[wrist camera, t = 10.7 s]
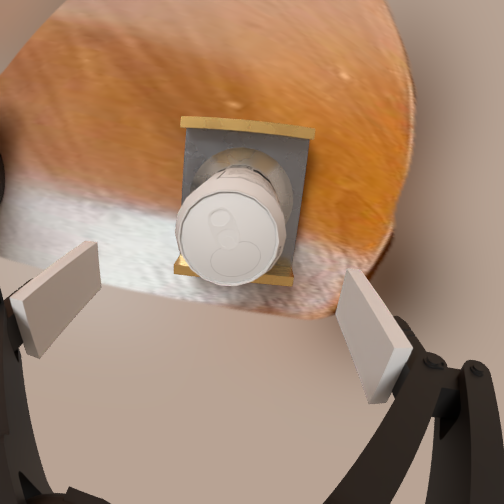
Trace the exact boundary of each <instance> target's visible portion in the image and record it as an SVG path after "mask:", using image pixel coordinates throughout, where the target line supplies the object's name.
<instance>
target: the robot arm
mask: <svg viewBox="0 0 504 504" xmlns="http://www.w3.org/2000/svg"><path fill="white" fill-rule="evenodd" d="M3 191H4V168H3V163H2V159H1V156H0V203H1V200H2V196H3ZM100 289H101V279H100V269H99V259H98V246H97V242H92V241H85V242H83V243H82V244H80V245H79V246H77V247H76V248H74V249H73V250H72V251H70V252H69V253H67V254H66V255H65V256H63V257H62V258H60V259H59V260H58V261H56V262H55V263H53V264H52V265H51V266H49V267H48V268H47V269H45V270H44V271H43V272H41V273H40V274H39V275H37V276H36V277H35V278H33V279H31V280H29V281H28V282H26V283H25V284H24V285H23V286H21V287H20V288H19V289H18V290H16V291H15V292H14V293H12V294H11V295H10V296H9V297H7V298H6V299H5V300H3V297H2V293H1V289H0V504H110V503H109V502H107V501H105V500H104V499H101V498H98V497H95V496H93V495H90V494H87V493H84V492H82V491H79V490H77V489H74V488H72V487H69V488H68V490H67V492H66V494H63V493H53V491H52V490H51V488H50V486H49V484H48V482H47V480H46V477H45V473H44V471H43V467H42V464H41V460H40V457H39V453H38V450H37V446H36V442H35V438H34V434H33V429H32V425H31V421H30V415H29V410H28V404H27V398H26V392H25V385H24V378H23V370H22V360H21V354H20V351H19V347H20V346H21V344H22V343H23V344H24V347H25V350H26V353H27V354H28V355H31V356H34V357H36V358H39V359H40V358H41V357H42V355H43V354H44V353H45V352H46V350H47V349H48V348H49V347H50V346H51V344H52V343H53V342H54V341H55V340H56V338H57V337H58V336H59V335H60V334H61V332H62V331H63V330H64V329H65V328H66V327H67V326H68V324H69V323H70V322H71V321H72V320H73V319H74V318H75V317H76V315H77V314H78V313H79V312H80V311H81V310H82V309H83V308H84V306H85V305H86V304H87V303H88V302H89V301H90V300H91V299H92V298H93V296H94V295H95V294H96V293H97V292H98V291H99V290H100ZM335 315H336V317H337V320H338V323H339V325H340V327H341V330H342V333H343V335H344V338H345V341H346V343H347V346H348V348H349V351H350V354H351V356H352V359H353V362H354V364H355V367H356V370H357V373H358V375H359V378H360V381H361V383H362V386H363V389H364V392H365V395H366V398H367V401H368V403H369V404H378V403H386V402H387V400H388V398H389V397H390V395H391V393H393V395H394V398H395V400H394V402H393V404H392V405H391V407H390V409H389V411H388V412H387V414H386V416H385V417H384V419H383V421H382V422H381V424H380V426H379V427H378V429H377V430H376V432H375V434H374V435H373V437H372V438H371V440H370V441H369V443H368V444H367V446H366V447H365V449H364V450H363V452H362V453H361V455H360V456H359V457H358V459H357V460H356V462H355V463H354V465H353V466H352V467H351V469H350V470H349V471H348V473H347V474H346V475H345V477H344V478H343V479H342V481H341V482H340V483H339V484H338V486H337V487H336V488H335V490H334V491H333V492H332V493H331V495H330V496H329V497H328V498H327V499H326V501H325V502H324V503H323V504H390V503H391V501H392V499H393V497H394V496H395V494H396V492H397V490H398V488H399V487H400V485H401V483H402V481H403V479H404V477H405V475H406V473H407V471H408V469H409V467H410V465H411V463H412V461H413V459H414V457H415V454H416V452H417V450H418V448H419V445H420V443H421V441H422V439H423V436H424V434H425V431H426V429H427V427H428V424H429V422H430V419H431V417H435V422H434V439H433V451H432V461H431V470H430V478H429V485H428V491H427V497H426V502H425V504H504V446H503V439H502V430H501V424H500V417H499V411H498V406H497V401H496V396H495V391H494V386H493V382H492V378H491V374H490V371H489V369H488V368H487V367H486V366H485V365H484V364H482V363H481V362H478V361H475V360H468V361H466V362H465V363H464V365H463V367H462V368H461V370H460V369H454V368H448V367H447V364H446V362H445V361H444V360H443V359H442V358H441V357H440V356H438V355H436V354H434V353H430V352H426V351H425V349H424V348H423V346H422V345H421V343H420V342H419V340H418V339H417V337H415V334H414V333H413V331H411V328H410V327H409V325H408V324H407V323H406V322H405V321H404V320H403V319H401V318H400V317H398V316H392V314H391V313H390V312H389V310H388V308H387V307H386V306H385V304H384V303H383V301H382V300H381V298H380V297H379V295H378V294H377V292H376V291H375V290H374V288H373V287H372V285H371V284H370V282H369V281H368V280H367V278H366V277H365V275H364V274H363V272H362V271H361V270H360V269H349V268H347V269H346V274H345V278H344V282H343V286H342V290H341V294H340V298H339V302H338V306H337V310H336V314H335Z"/></svg>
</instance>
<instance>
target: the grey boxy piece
mask: <svg viewBox="0 0 504 504" xmlns="http://www.w3.org/2000/svg"><path fill="white" fill-rule="evenodd" d="M180 127H182V128H187V131H186V142H185V155H184V169H183V185H182V204H181V207H182V205H183V203H184V201H185V199H186V198H187V197H188V196H189V195H190V194H191V193H192V192H193V191H195V190H196V189H197V188H198V187H199V186H201V185H202V184H203V183H204V182H206V181H207V180H208V179H209V178H211V177H212V176H213V175H214V174H216V173H217V172H218V171H219V170H221V169H222V168H225V167H228V166H231V165H234V164H240V165H249V166H252V167H255V168H257V169H259V170H261V171H262V172H263V173H264V174H265V175H266V176H267V177H269V179H270V181H271V183H272V184H273V186H274V188H275V191H276V194H277V197H278V200H279V203H280V206H281V209H282V212H283V215H284V220H285V228H286V239H285V243H284V247H283V251H282V254H281V256H280V257H279V259H278V260H277V261H276V263H275V264H274V266H273V267H272V269H270V270H269V271H267V272H266V273H265V274H263V275H262V276H260V277H259V278H258V279H256V280H254V281H252V282H251V283H261V284H271V285H281V286H292V285H293V279H294V276H293V272H292V267H291V266H292V260H293V254H294V248H295V241H296V235H297V228H298V222H299V215H300V208H301V201H302V194H303V186H304V179H305V172H306V164H307V156H308V148H309V140H314V136H315V129H314V128H308V127H301V126H294V125H287V124H279V123H270V122H261V121H251V120H240V119H228V118H212V117H190V116H181V125H180ZM174 274H179V275H187V276H196V277H200V276H199V275H197V274H196V273H195V272H194V271H192V270H191V269H190V267H189V266H188V264H187V263H186V261H185V259H184V258H183V256H182V254H181V253H180V256H179V257H178V259H177V261H176V262H175V264H174Z"/></svg>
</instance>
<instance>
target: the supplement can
mask: <svg viewBox="0 0 504 504" xmlns="http://www.w3.org/2000/svg"><path fill="white" fill-rule="evenodd" d="M175 235H176V239H177V243H178V248H179V251H180V253H181V254H182V256H183V258H184V259H185V261H186V263H187V264H188V266H189V267H190V269H191V270H192V271H194V272H195V273H196V274H197V275H199V276H200V277H201V278H203V279H204V280H206V281H209V282H212V283H214V284H217V285H222V286H238V285H242V284H245V283H249V282H252V281H254V280H256V279H258V278H259V277H260V276H262V275H263V274H265V273H266V272H267V271H269V270H270V269H272V267H273V266H274V264H275V263H276V261H277V260H278V259H279V257H280V256H281V254H282V251H283V247H284V243H285V239H286V228H285V220H284V215H283V212H282V209H281V206H280V203H279V200H278V197H277V194H276V191H275V188H274V186H273V184H272V183H271V181H270V179H269V177H267V176H266V175H265V174H264V173H263V172H262V171H261V170H259V169H257V168H255V167H252V166H249V165H240V164H234V165H231V166H228V167H225V168H222V169H221V170H219V171H218V172H217V173H216V174H214V175H213V176H212V177H211V178H209V179H208V180H207V181H206V182H204V183H203V184H202V185H201V186H199V187H198V188H197V189H196V190H195V191H193V192H192V193H191V194H190V195H189V196H188V197H187V198H186V199H185V201H184V203H183V205H182V207H181V208H180V210H179V212H178V214H177V221H176V229H175Z"/></svg>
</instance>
